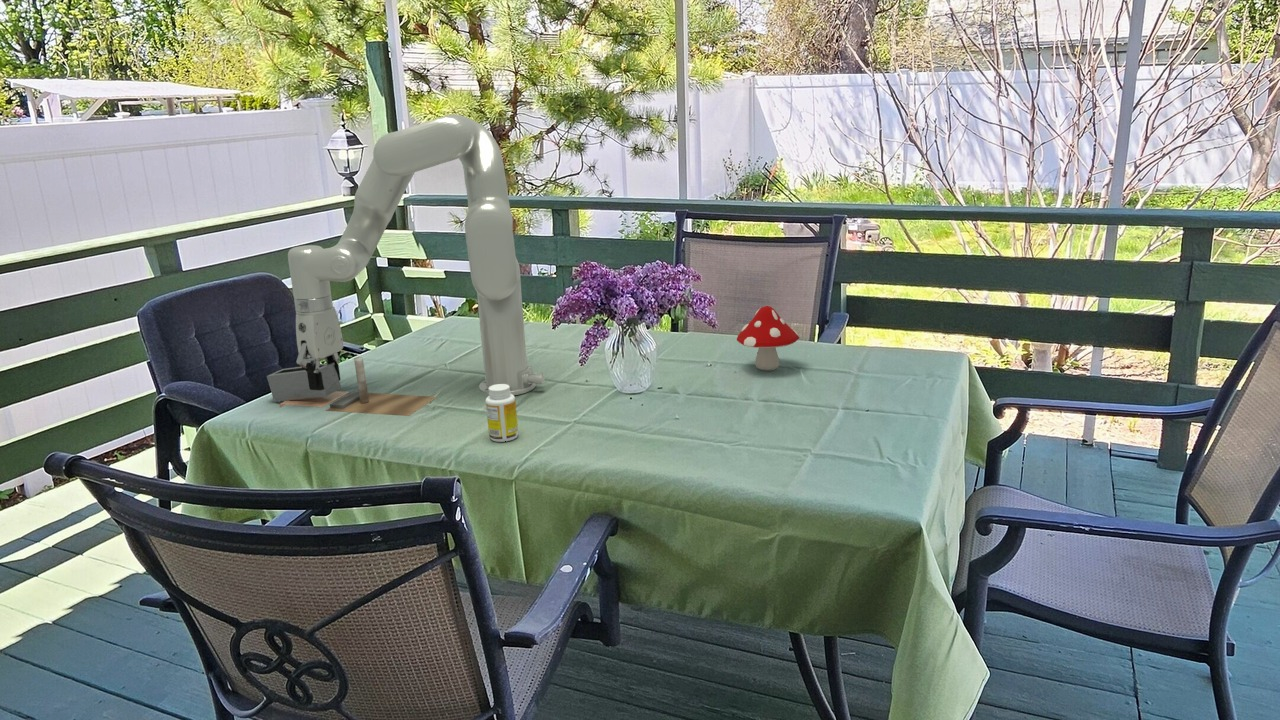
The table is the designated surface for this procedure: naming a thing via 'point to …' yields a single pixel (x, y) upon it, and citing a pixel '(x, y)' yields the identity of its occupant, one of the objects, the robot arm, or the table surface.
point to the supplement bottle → (501, 413)
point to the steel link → (302, 383)
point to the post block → (377, 399)
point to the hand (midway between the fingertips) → (325, 384)
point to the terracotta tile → (316, 400)
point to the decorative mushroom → (767, 337)
